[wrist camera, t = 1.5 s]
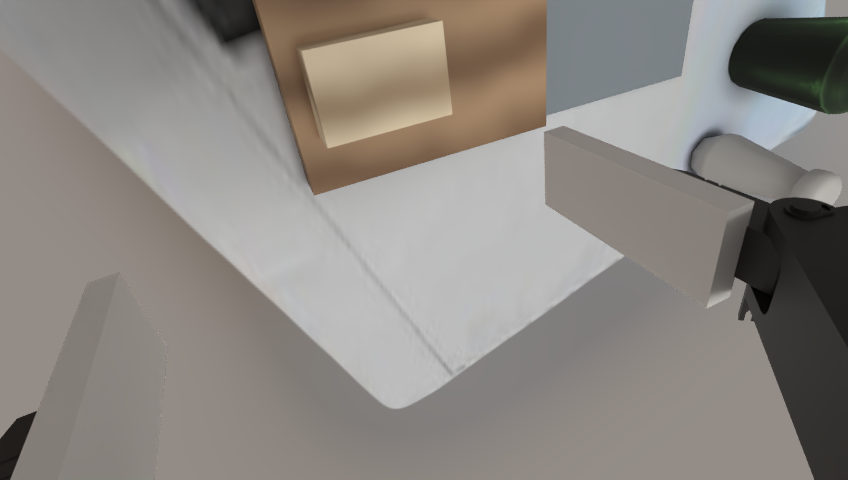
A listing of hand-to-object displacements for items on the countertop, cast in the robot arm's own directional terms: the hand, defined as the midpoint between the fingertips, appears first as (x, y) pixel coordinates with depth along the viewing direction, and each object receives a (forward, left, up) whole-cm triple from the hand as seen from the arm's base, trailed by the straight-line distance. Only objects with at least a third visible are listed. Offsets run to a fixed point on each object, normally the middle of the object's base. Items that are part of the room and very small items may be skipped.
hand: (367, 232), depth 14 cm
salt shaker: (+17, +43, -22) cm, 51 cm away
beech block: (0, +6, -19) cm, 20 cm away
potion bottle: (+7, +47, -22) cm, 52 cm away
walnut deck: (0, +10, -22) cm, 24 cm away
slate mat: (0, +29, -22) cm, 36 cm away
